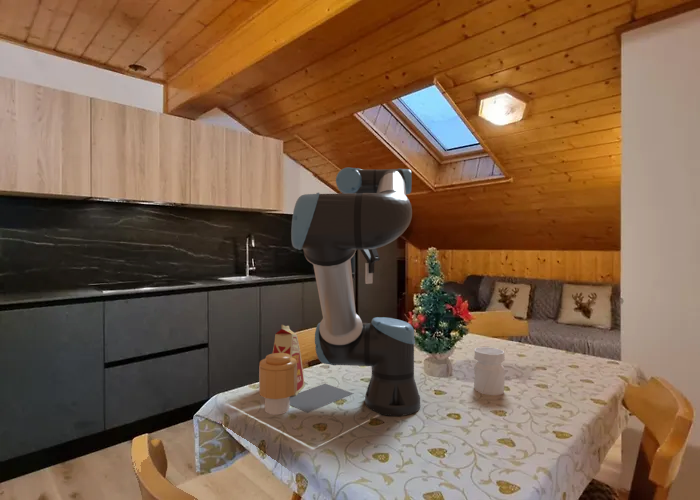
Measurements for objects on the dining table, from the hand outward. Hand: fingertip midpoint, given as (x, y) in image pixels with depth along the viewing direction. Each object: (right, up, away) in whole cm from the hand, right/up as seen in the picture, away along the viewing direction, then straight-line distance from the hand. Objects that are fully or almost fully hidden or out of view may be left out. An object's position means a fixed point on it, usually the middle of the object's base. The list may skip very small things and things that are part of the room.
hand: (352, 282), depth 129 cm
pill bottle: (+41, -32, -9) cm, 53 cm away
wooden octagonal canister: (-20, -27, -24) cm, 41 cm away
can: (-20, -32, -25) cm, 45 cm away
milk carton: (-20, -32, -10) cm, 39 cm away
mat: (-10, -32, -16) cm, 37 cm away
